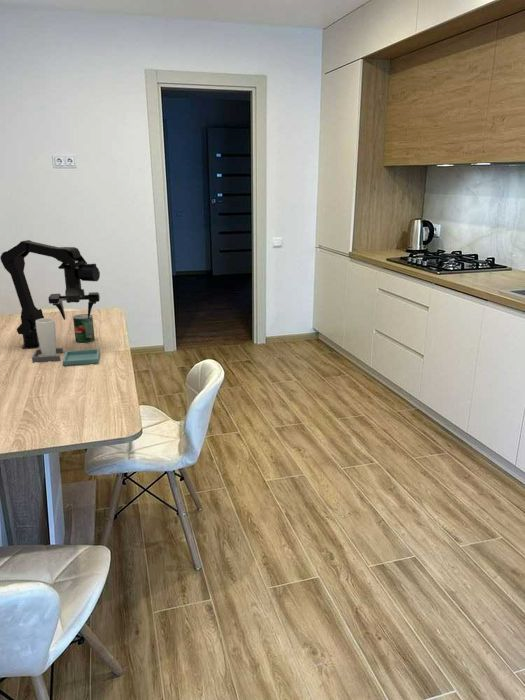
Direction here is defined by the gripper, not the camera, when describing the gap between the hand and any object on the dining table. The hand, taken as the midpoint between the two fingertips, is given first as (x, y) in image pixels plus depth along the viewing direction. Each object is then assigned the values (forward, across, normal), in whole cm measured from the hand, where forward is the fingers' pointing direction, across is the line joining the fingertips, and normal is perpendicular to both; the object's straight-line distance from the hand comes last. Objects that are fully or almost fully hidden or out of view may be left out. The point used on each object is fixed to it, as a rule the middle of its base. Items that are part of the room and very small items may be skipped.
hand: (76, 318), depth 207 cm
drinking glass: (+13, -11, -8) cm, 19 cm away
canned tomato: (+13, +1, +12) cm, 18 cm away
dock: (+13, -11, -8) cm, 19 cm away
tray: (+13, +2, -14) cm, 19 cm away
